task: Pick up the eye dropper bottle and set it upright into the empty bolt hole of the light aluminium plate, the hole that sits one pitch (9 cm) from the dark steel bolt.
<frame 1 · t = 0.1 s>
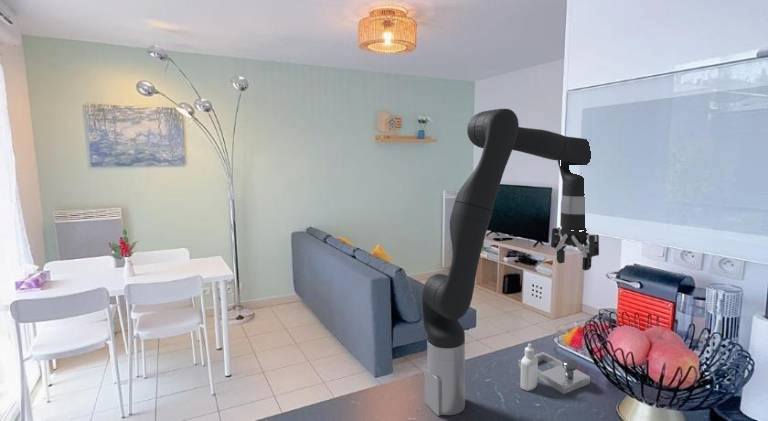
hand: (573, 266, 118), 29 cm above the countertop, tool pointing down, fingers open, 8 cm apart
eye dropper bottle: (528, 386, 109), on the countertop
bolt plate: (552, 374, 114), on the countertop
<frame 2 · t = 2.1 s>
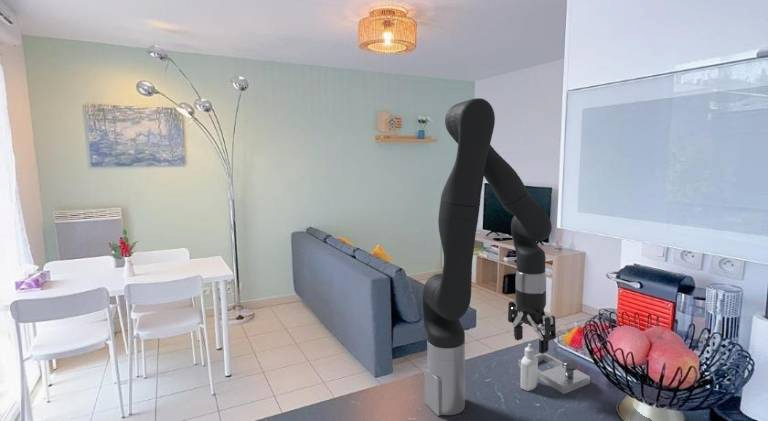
hand: (530, 345, 108), 11 cm above the countertop, tool pointing down, fingers open, 8 cm apart
nothing on the countertop moved.
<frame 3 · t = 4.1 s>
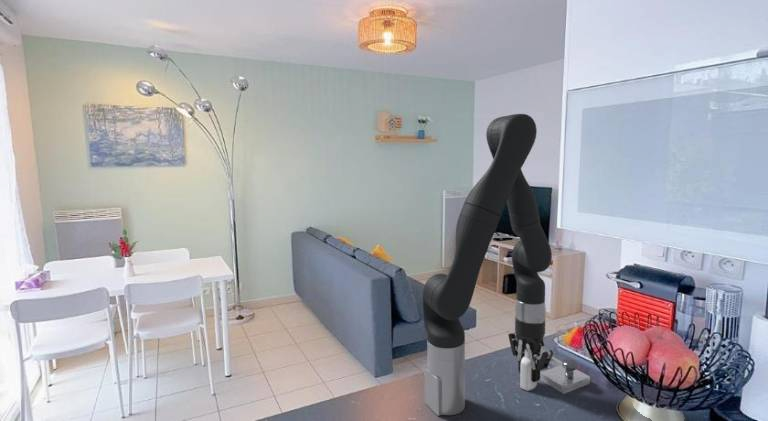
hand: (528, 376, 109), 3 cm above the countertop, tool pointing down, fingers closed on eye dropper bottle, 3 cm apart
eye dropper bottle: (528, 386, 109), on the countertop, touching gripper
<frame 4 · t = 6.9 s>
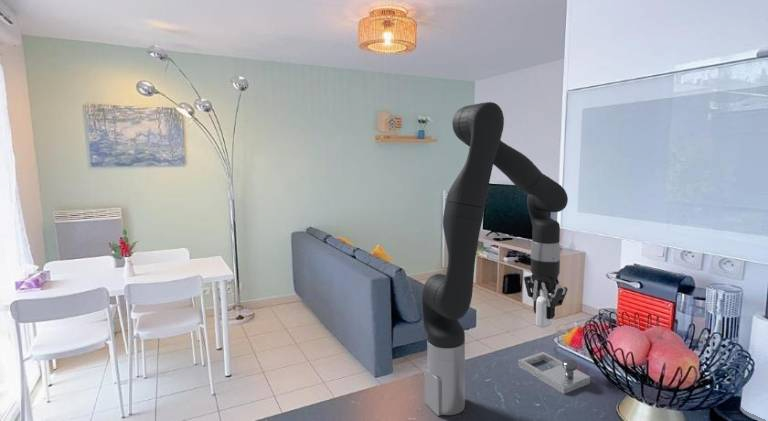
hand: (543, 315, 115), 16 cm above the countertop, tool pointing down, fingers closed on eye dropper bottle, 3 cm apart
eye dropper bottle: (543, 325, 116), point 13 cm above the countertop, touching gripper
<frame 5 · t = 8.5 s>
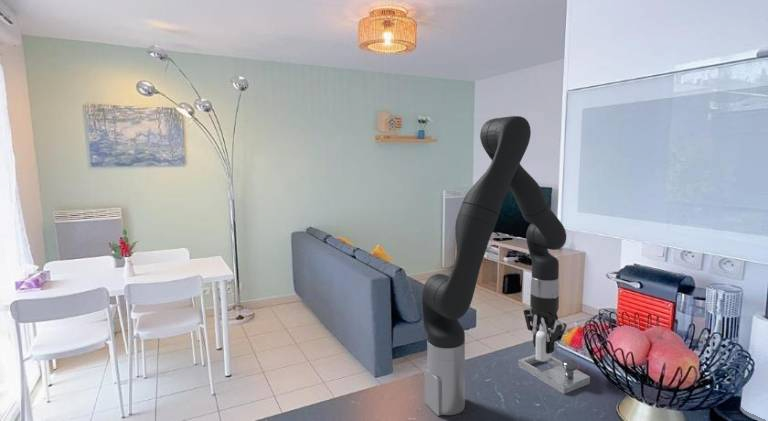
hand: (543, 349, 117), 6 cm above the countertop, tool pointing down, fingers closed on eye dropper bottle, 3 cm apart
eye dropper bottle: (543, 358, 117), point 3 cm above the countertop, touching gripper
when the fingers open (4 cm above the countertop, at t = 9.7 s): eye dropper bottle drops 1 cm, resting in bolt plate.
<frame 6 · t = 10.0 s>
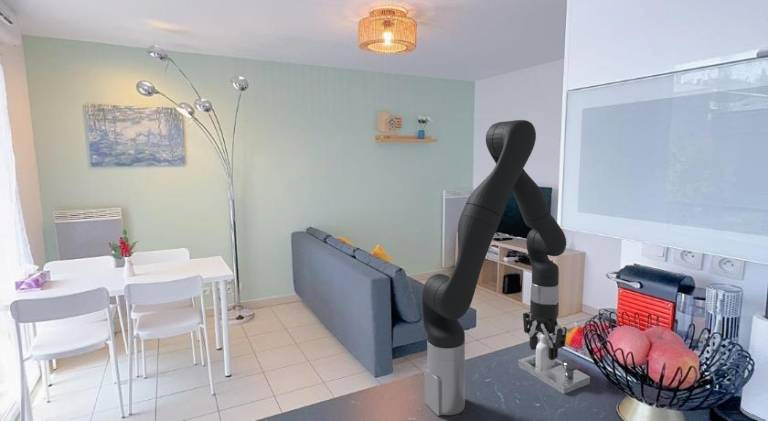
hand: (543, 353, 117), 5 cm above the countertop, tool pointing down, fingers open, 6 cm apart
eye dropper bottle: (543, 370, 117), resting in bolt plate
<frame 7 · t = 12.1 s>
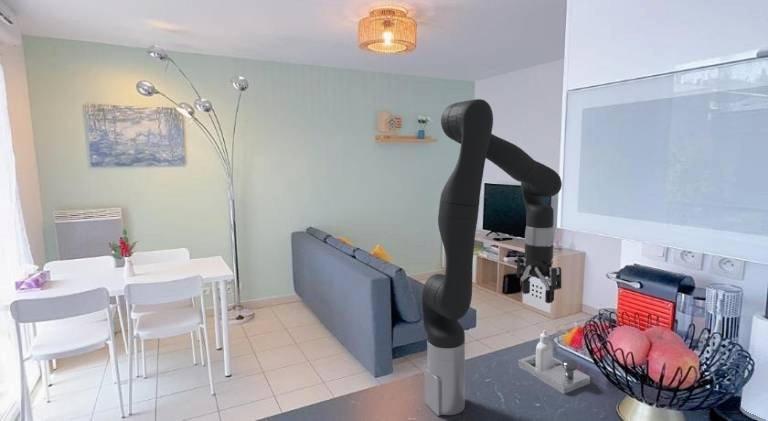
hand: (537, 297, 115), 21 cm above the countertop, tool pointing down, fingers open, 8 cm apart
nothing on the countertop moved.
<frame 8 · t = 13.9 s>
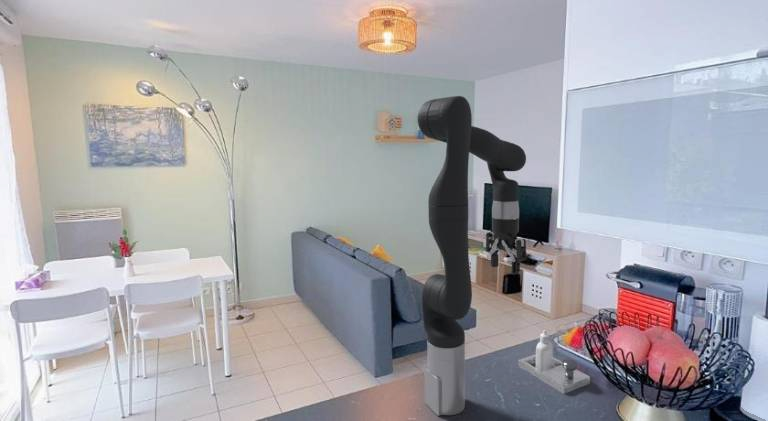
hand: (504, 270, 120), 28 cm above the countertop, tool pointing down, fingers open, 8 cm apart
nothing on the countertop moved.
at the end: eye dropper bottle 0.5 cm from the target spot on the bolt plate, point 0.0 cm above the bolt plate's base; eye dropper bottle tilted 0°; the gripper is holding nothing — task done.
